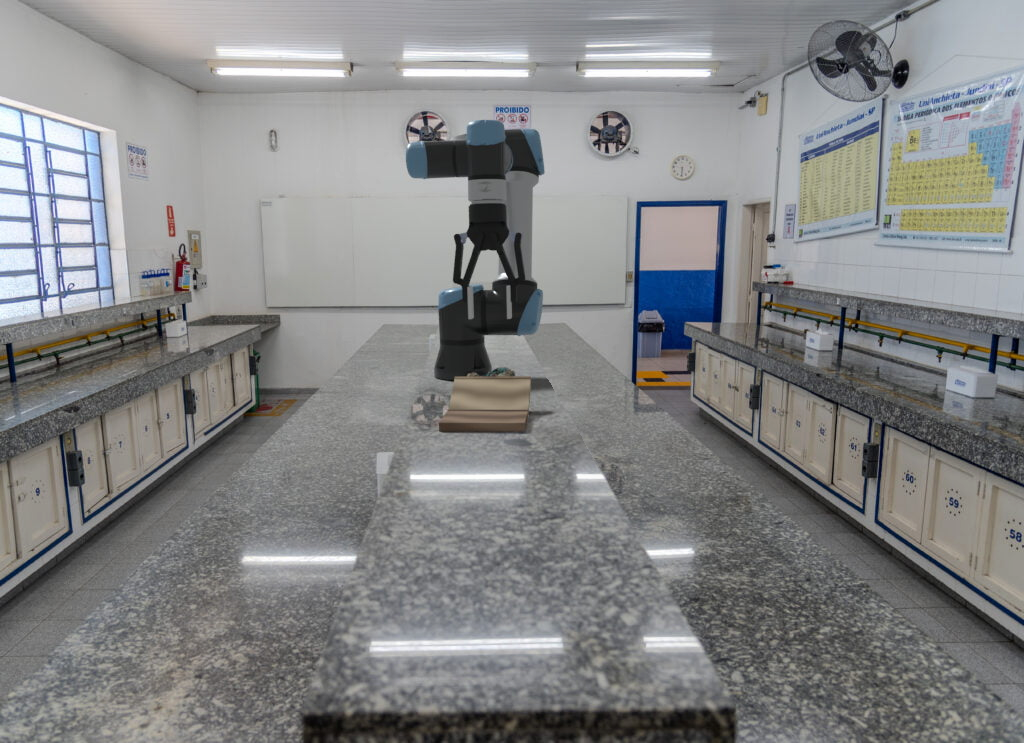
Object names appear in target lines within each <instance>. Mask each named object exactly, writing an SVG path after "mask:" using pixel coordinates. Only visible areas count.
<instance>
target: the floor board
mask: <svg viewBox="0 0 1024 743" xmlns="http://www.w3.org/2000/svg"><path fill="white" fill-rule="evenodd" d="M528 419H529V415H528V410H449V409H447V411H446V412H445V414H444V415H443V416H442V418H441V419H440V420H439V421H438V432H526V428H527V424H528V422H529V420H528Z"/></svg>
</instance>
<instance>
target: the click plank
mask: <svg viewBox="0 0 1024 743" xmlns="http://www.w3.org/2000/svg"><path fill="white" fill-rule="evenodd" d="M531 386H532V376H530V375H529V376H522V375H521V376H516V375H515V376H468V377H455V379H454V380H453V385H452V390H451V395H450V401H449V405H448V406H449V407H448V410H528V416H529V415H530V414H529V413H530V402H531V401H530V400H531Z"/></svg>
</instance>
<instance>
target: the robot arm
mask: <svg viewBox="0 0 1024 743" xmlns="http://www.w3.org/2000/svg"><path fill="white" fill-rule="evenodd" d="M542 147H543V146H542V140H541V136H540V132H539V131H538V130H537V129H535V128H522V127H521V128H516V129H515V128H513V129H511V128H510V129H505V124H504V123H503V122H502V121H500V120H496V119H478V120H477V119H476V120H472V121H470V122H468V123H467V125H466V133H464V134H459V135H456V136H453V137H451V138H450V139H446V140H430V141H427V140H426V141H423V140H420V141H413V142H409V144H408V145H407V146H406V148H405V149H406V150H405V166H406V170H407V173H408V175H409V176H410V177H411V178H412V179H422V180H427V179H448V178H467V198H468V201H469V202H471V203H470V204H469V205H468V228H467V230H466V232H461V233H455V234H454V235H453V239H454V244H455V251H454V252H455V253H454V263H453V273H452V282H453V284H456V285H459V286H458V287H453V288H447V289H443V290H442V291H440V292H439V294H438V303H437V304H438V305H437V306H438V307H437V310H438V328H439V330H438V331H439V350H438V353H437V356H436V359H435V360H436V361H435V363H434V368H433V371H434V377H435V378H436V379H440V380H448V381H454V379H455V377H467V375H468V374H471V373H477V374H479V376H483V375H485V376H486V375H487V374H488V372H490V373H491V372H492V371H493V365H492V363H491V360H490V357H489V354H488V350H487V348H486V345H485V336H518V337H521V336H531V335H535V333H537V331H538V330H539V327H540V323H541V320H542V319H541V318H542V311H543V300H544V291H543V290H542V289H540V288H538V281H537V280H535V278H534V277H533V276H532V274H533V273H532V272H533V271H532V270H533V268H532V267H533V257H532V256H533V206H534V205H533V201H534V200H533V199H534V196H533V195H534V194H533V193H534V192H533V190H534V187H536V185H538V184H539V181H540V180H539V179H540V176H542V175H545V173H546V172H545V162H544V155H543V148H542ZM467 239H469V240H470V242H471V243H472V244H473V249H472V251H471V255H470V258H469V261H468V264H467V266H466V270H465V271H464V272H465V273H464V275H463V278H462V270H463V269H462V268H463V257H464V248H465V246H464V244H466V242H467ZM482 251H483V252H484V251H496V254H497V255H498V266H497V267H498V269H497V271H498V272H497V273H498V275H497V277H496V278H495V279H494V280H493V281H492V282H491V284H492V286H491V289H485V287H484V285H483V284H481V283H480V284H472V285H471V284H470V282H471V279H472V277H473V274H474V271H475V268H476V266H477V262H478V259H479V257H480V254H481V252H482Z"/></svg>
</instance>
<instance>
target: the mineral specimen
mask: <svg viewBox="0 0 1024 743" xmlns="http://www.w3.org/2000/svg"><path fill="white" fill-rule="evenodd" d="M468 376H479V374H477V373H471V374H468V375H467V377H468ZM483 376H485V375H483ZM486 376H516V372H515V371H514V370H512V369H510V368H509V367H505V366H504V367H496V368H494V369H492V372H491V373H490V372H488V374H487V375H486Z"/></svg>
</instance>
